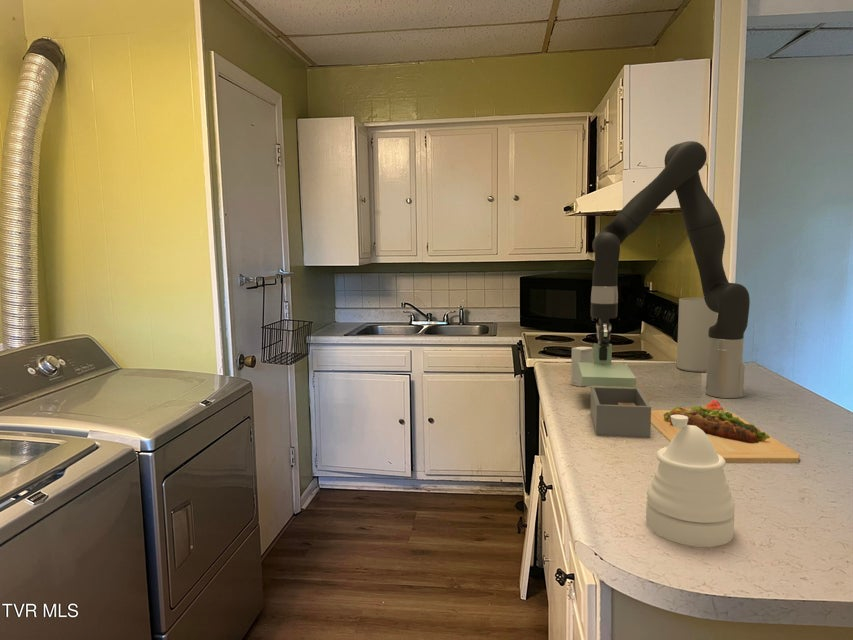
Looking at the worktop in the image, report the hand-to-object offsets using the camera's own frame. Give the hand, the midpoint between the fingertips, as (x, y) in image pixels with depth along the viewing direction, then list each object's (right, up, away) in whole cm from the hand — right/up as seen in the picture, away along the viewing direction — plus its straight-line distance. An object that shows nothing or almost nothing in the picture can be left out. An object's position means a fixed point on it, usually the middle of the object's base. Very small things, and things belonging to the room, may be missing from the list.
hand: (602, 359), depth 174 cm
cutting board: (+15, -16, -36) cm, 42 cm away
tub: (-5, -15, -29) cm, 33 cm away
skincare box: (-2, -9, +16) cm, 18 cm away
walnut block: (-2, -14, -26) cm, 29 cm away
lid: (-2, -5, -8) cm, 9 cm away
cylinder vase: (+44, -6, +36) cm, 57 cm away
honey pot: (-10, -22, -80) cm, 83 cm away
